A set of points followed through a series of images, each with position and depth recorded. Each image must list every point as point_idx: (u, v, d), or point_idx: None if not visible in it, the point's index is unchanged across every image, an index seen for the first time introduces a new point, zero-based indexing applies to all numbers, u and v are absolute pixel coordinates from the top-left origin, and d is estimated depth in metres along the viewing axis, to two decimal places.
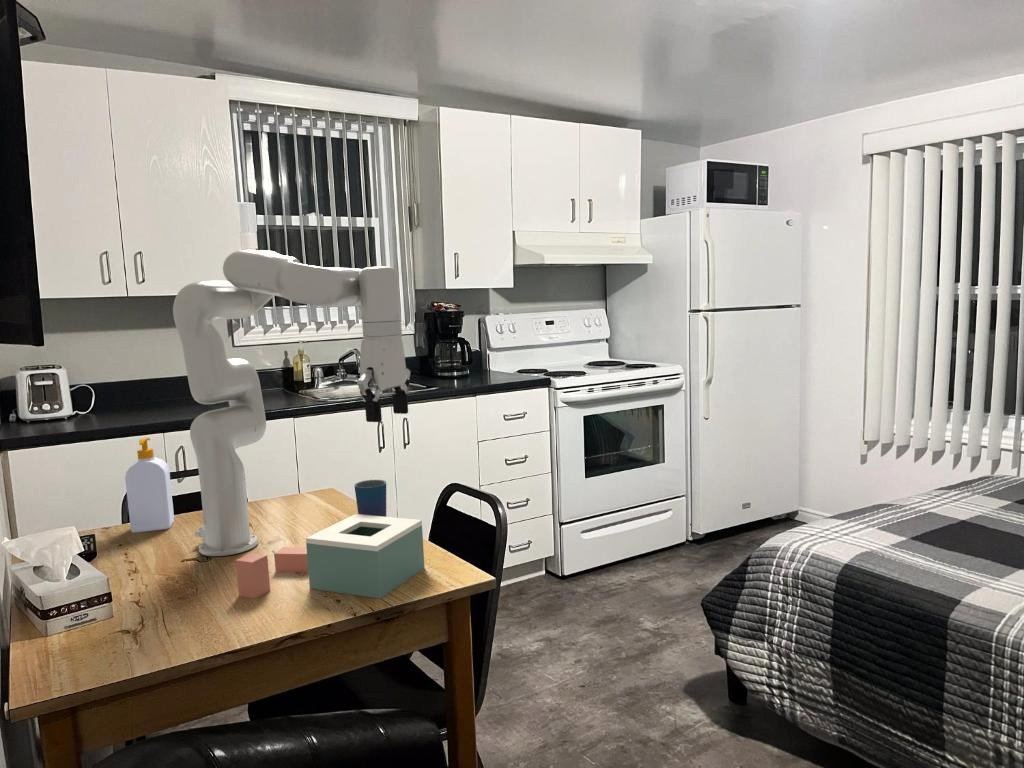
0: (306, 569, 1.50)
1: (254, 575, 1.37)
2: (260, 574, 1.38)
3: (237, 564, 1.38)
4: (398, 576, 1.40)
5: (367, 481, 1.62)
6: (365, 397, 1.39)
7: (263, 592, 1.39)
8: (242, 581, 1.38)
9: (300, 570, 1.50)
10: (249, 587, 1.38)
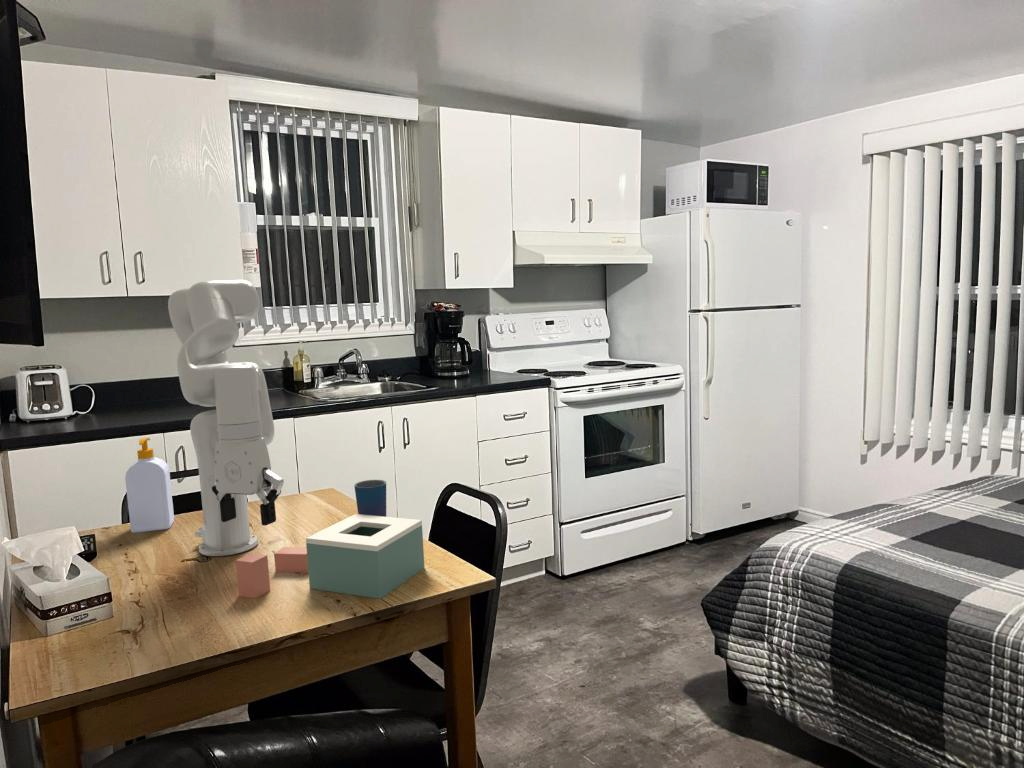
0: (305, 569, 1.50)
1: (254, 575, 1.37)
2: (260, 574, 1.38)
3: (237, 564, 1.38)
4: (398, 576, 1.40)
5: (367, 481, 1.62)
6: (273, 498, 1.34)
7: (263, 592, 1.39)
8: (242, 580, 1.38)
9: (300, 570, 1.50)
10: (249, 587, 1.38)
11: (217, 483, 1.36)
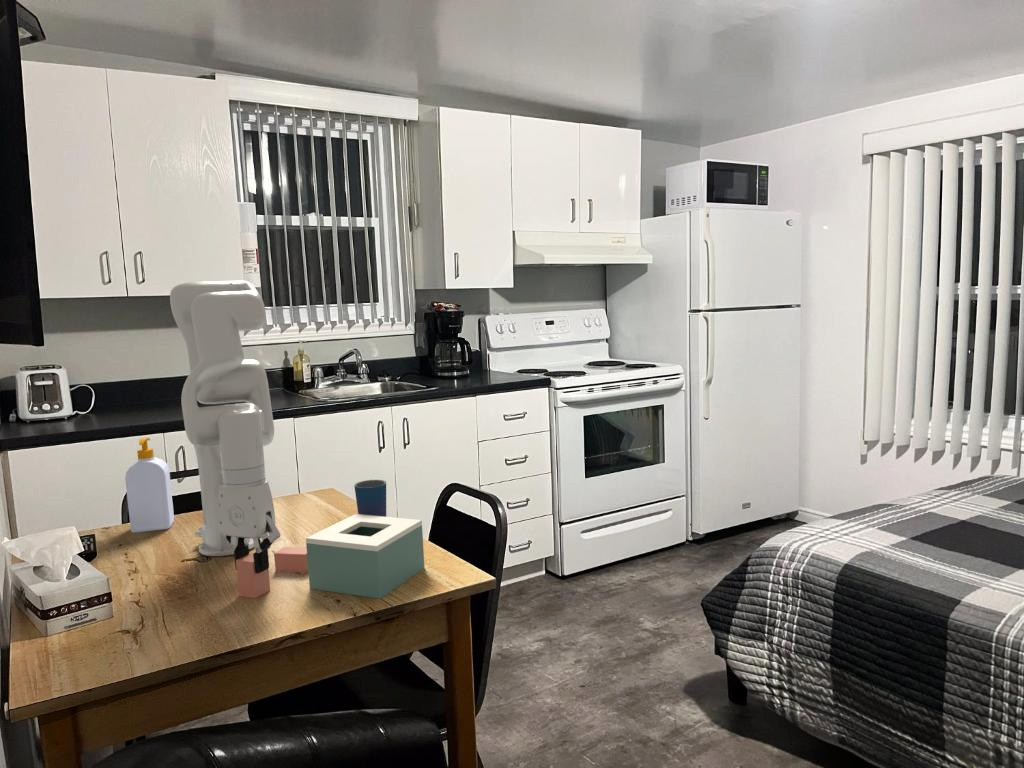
0: (305, 569, 1.49)
1: (254, 574, 1.37)
2: (260, 574, 1.38)
3: (237, 564, 1.38)
4: (398, 576, 1.40)
5: (367, 481, 1.62)
6: (266, 546, 1.37)
7: (263, 592, 1.39)
8: (242, 580, 1.38)
9: (299, 570, 1.50)
10: (249, 586, 1.38)
11: (221, 526, 1.37)
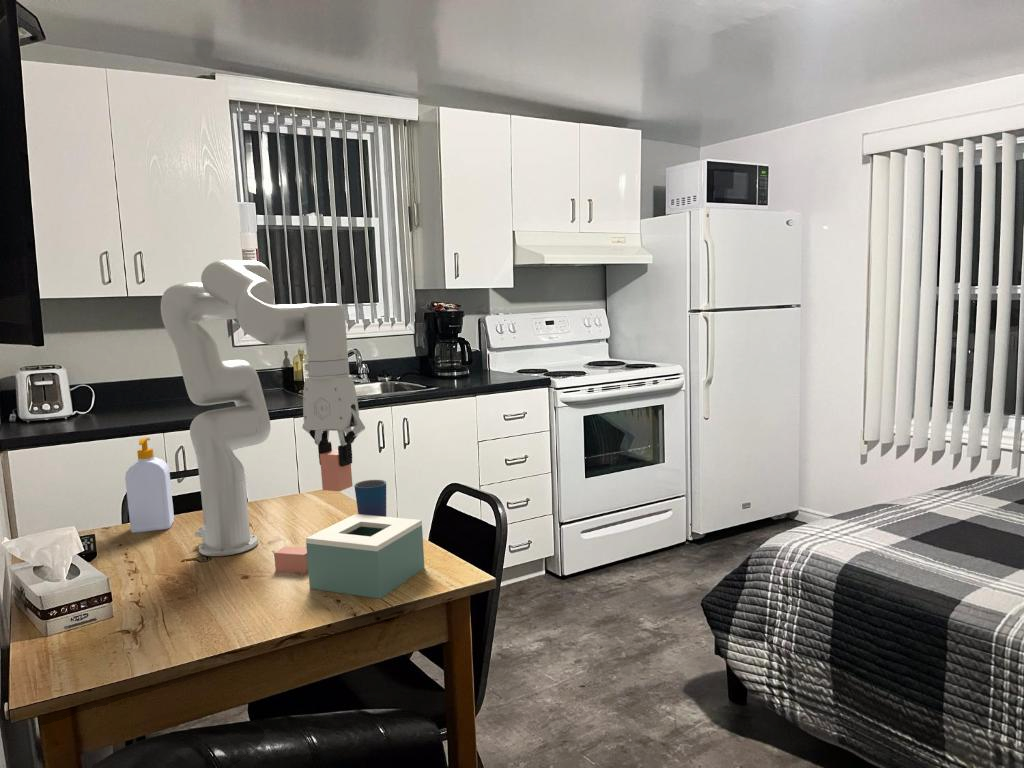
0: (304, 570, 1.49)
1: (339, 468, 1.39)
2: (343, 468, 1.40)
3: (321, 458, 1.40)
4: (398, 576, 1.40)
5: (367, 481, 1.62)
6: (351, 439, 1.38)
7: (346, 487, 1.41)
8: (326, 474, 1.40)
9: (298, 571, 1.50)
10: (333, 480, 1.39)
11: (306, 420, 1.39)
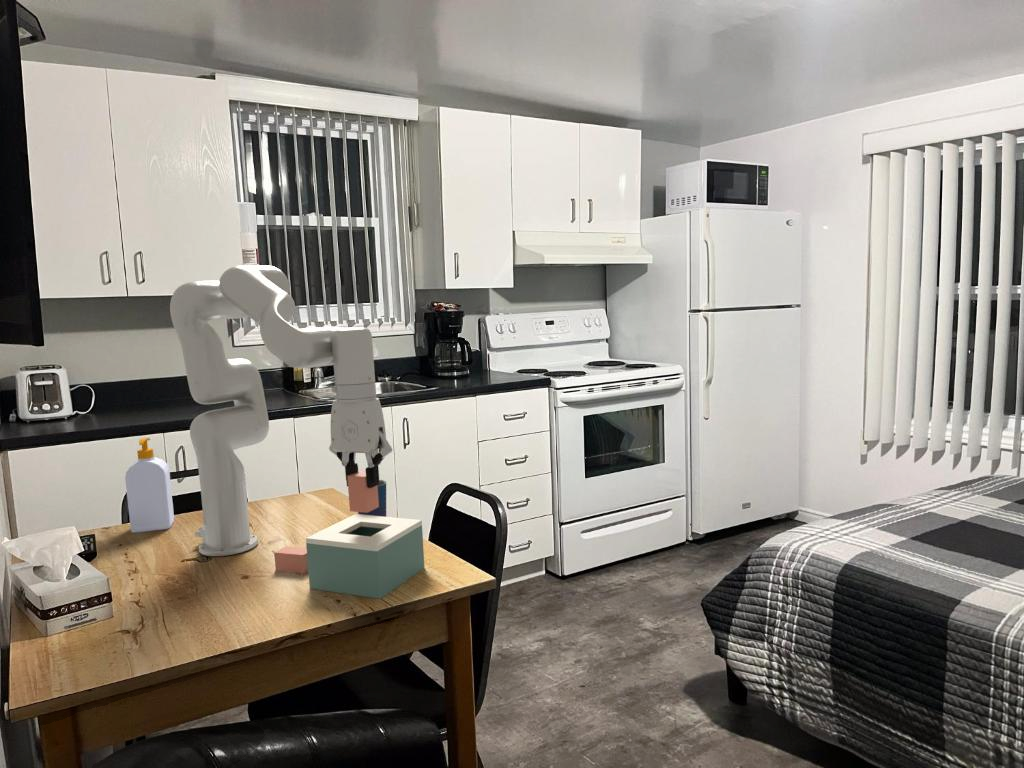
0: (303, 570, 1.49)
1: (366, 489, 1.40)
2: (370, 490, 1.42)
3: (349, 479, 1.41)
4: (398, 576, 1.40)
5: None
6: (378, 461, 1.40)
7: (373, 507, 1.42)
8: (354, 496, 1.41)
9: (298, 571, 1.50)
10: (361, 501, 1.41)
11: (333, 442, 1.41)
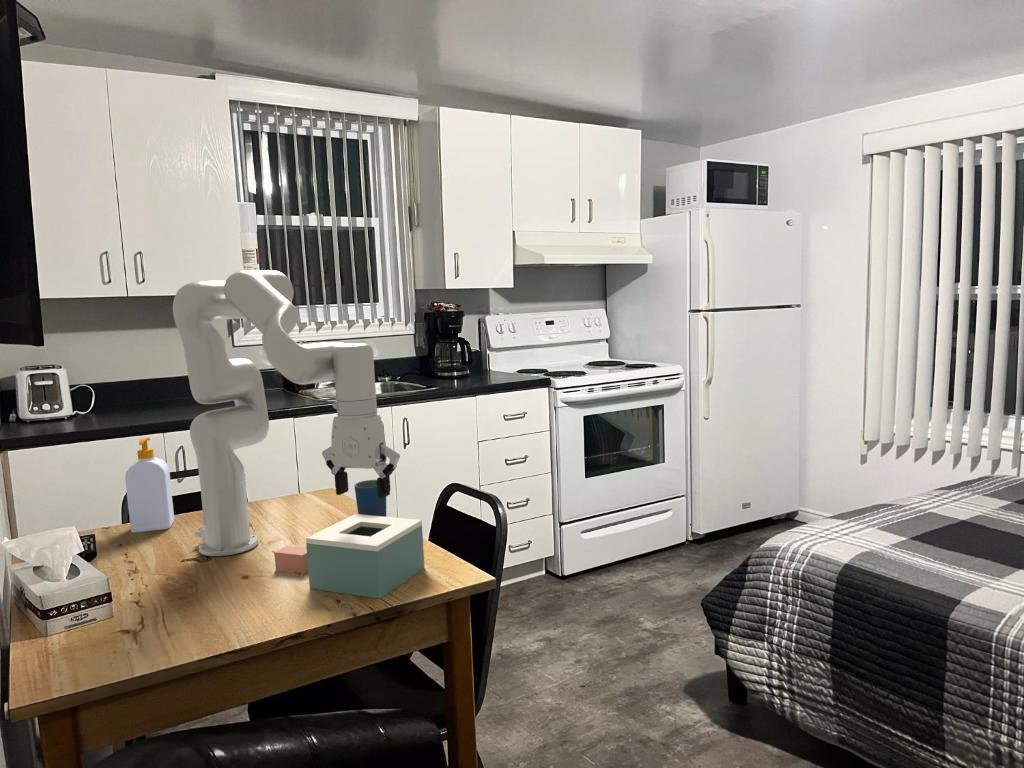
0: (302, 570, 1.49)
1: None
2: None
3: None
4: (398, 576, 1.40)
5: (367, 481, 1.62)
6: (390, 472, 1.39)
7: None
8: None
9: (297, 571, 1.50)
10: None
11: (334, 457, 1.41)
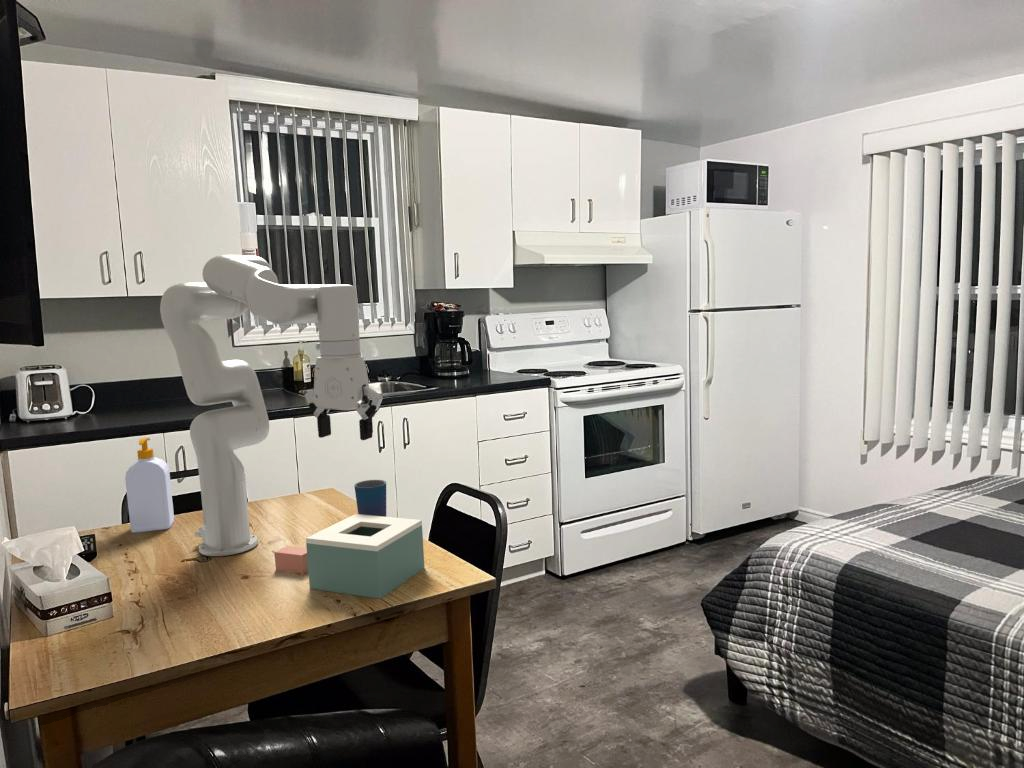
0: (302, 570, 1.49)
1: None
2: None
3: None
4: (398, 576, 1.40)
5: (367, 481, 1.62)
6: (372, 413, 1.39)
7: None
8: None
9: (297, 571, 1.50)
10: None
11: (316, 399, 1.41)
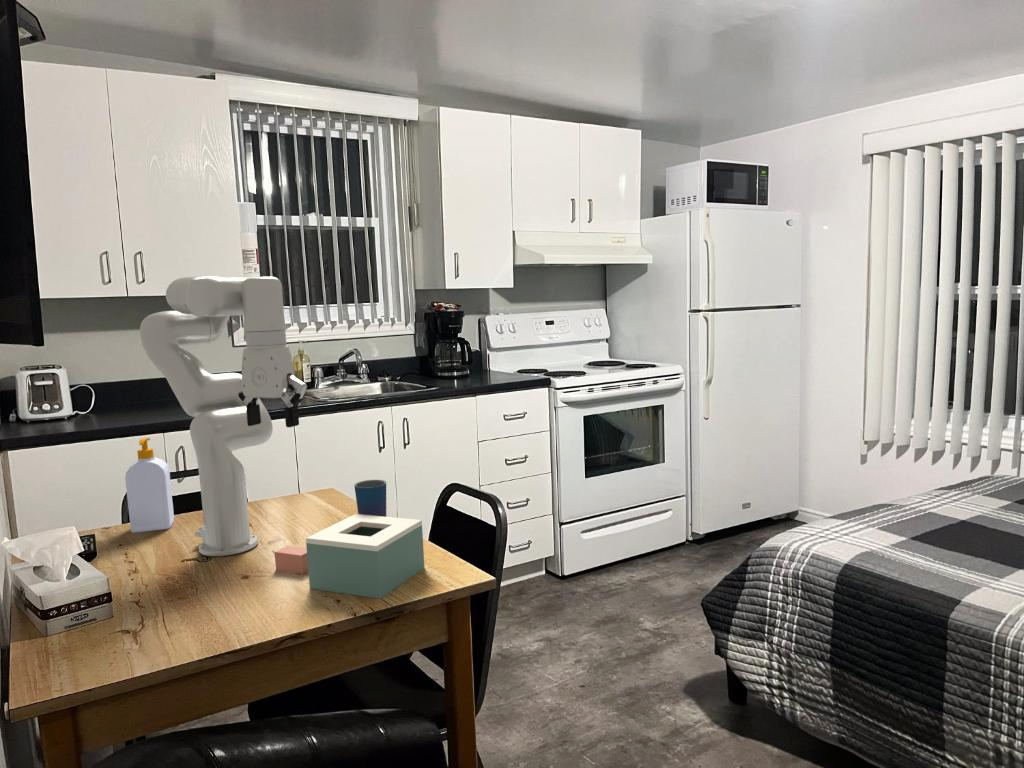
0: (301, 570, 1.49)
1: None
2: None
3: None
4: (398, 576, 1.40)
5: (367, 481, 1.62)
6: (297, 401, 1.44)
7: None
8: None
9: (296, 571, 1.49)
10: None
11: (244, 388, 1.45)
